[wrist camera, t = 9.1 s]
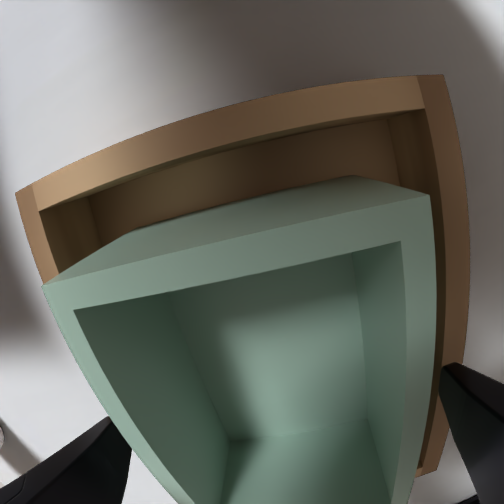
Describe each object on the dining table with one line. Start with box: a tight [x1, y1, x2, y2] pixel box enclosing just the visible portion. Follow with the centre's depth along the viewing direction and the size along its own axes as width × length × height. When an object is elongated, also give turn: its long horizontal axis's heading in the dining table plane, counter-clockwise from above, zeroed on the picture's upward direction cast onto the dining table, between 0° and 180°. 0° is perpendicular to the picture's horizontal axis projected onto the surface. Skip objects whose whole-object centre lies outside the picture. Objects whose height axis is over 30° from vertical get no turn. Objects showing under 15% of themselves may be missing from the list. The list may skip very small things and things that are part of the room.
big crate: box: [15, 75, 470, 478], centre depth 10 cm, size 12×15×4 cm
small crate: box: [41, 175, 436, 504], centre depth 8 cm, size 7×10×5 cm
